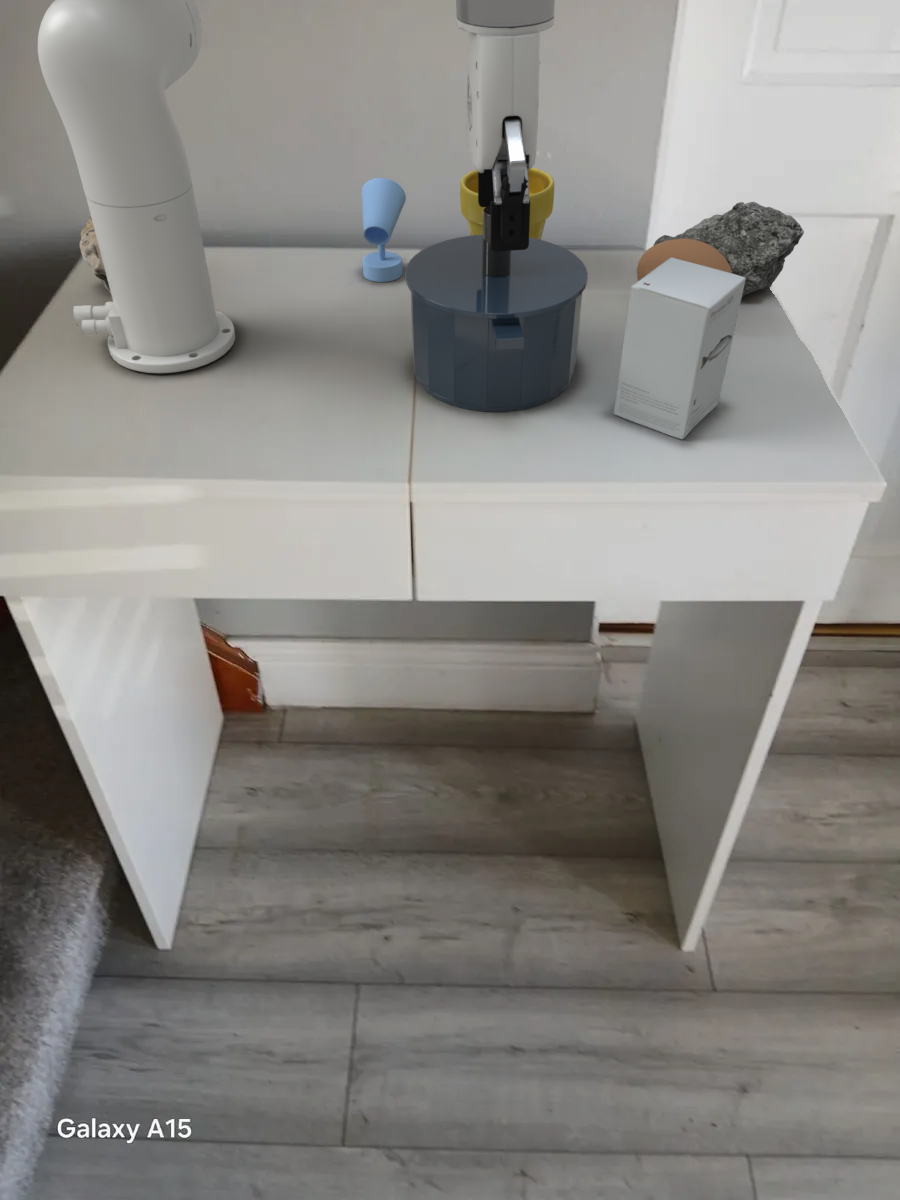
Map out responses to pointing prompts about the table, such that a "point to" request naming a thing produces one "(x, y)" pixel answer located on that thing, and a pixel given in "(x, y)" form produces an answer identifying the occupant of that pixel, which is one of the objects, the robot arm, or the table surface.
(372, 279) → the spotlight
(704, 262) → the egg
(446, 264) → the pot lid
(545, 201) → the flower pot
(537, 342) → the pot
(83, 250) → the rock
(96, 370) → the table surface
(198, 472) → the table surface
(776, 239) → the rock
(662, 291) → the white packaging box
